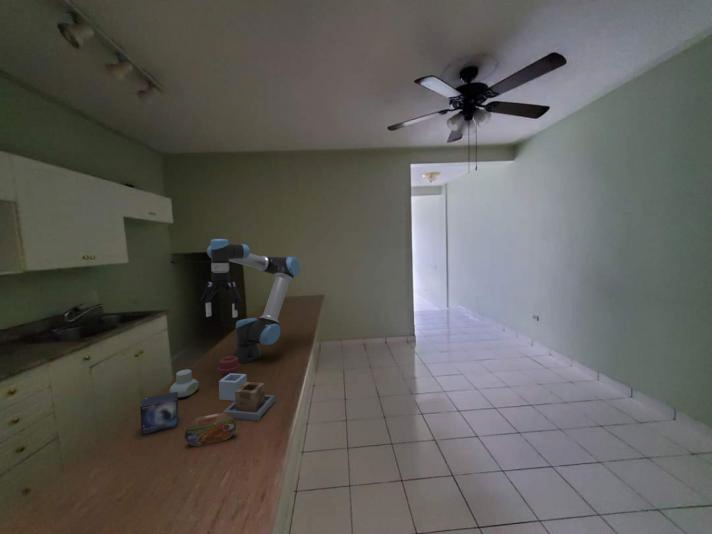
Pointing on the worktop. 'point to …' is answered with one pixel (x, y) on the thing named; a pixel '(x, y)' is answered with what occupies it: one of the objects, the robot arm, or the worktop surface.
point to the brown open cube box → (250, 397)
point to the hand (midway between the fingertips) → (221, 316)
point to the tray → (251, 415)
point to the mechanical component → (228, 365)
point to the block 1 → (231, 385)
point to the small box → (159, 413)
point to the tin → (210, 429)
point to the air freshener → (184, 383)
